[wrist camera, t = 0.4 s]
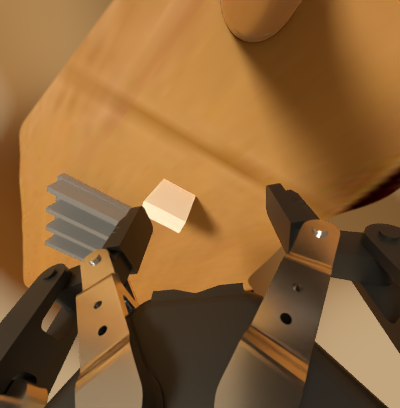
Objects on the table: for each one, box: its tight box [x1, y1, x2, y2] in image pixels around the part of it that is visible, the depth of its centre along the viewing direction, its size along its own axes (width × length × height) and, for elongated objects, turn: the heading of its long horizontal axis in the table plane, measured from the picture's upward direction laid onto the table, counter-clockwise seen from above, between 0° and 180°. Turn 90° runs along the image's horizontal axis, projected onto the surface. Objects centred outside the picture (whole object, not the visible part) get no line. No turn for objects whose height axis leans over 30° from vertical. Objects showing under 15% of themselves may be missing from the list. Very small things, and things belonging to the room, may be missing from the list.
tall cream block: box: [142, 179, 196, 233], centre depth 31 cm, size 7×3×9 cm, turn 62°
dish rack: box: [45, 173, 132, 261], centre depth 40 cm, size 18×18×5 cm
